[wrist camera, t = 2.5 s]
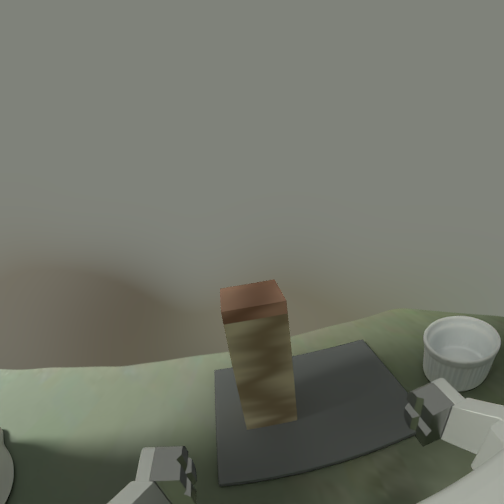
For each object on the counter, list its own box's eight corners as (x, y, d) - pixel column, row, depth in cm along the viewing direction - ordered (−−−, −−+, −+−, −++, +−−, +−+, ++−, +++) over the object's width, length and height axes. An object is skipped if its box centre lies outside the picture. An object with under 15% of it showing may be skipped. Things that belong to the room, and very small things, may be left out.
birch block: (247, 429, 24) (221, 311, 20) (242, 398, 28) (219, 288, 25) (297, 420, 24) (286, 300, 21) (287, 390, 28) (274, 279, 25)
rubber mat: (219, 486, 18) (218, 484, 18) (215, 372, 33) (214, 370, 33) (431, 426, 19) (433, 423, 19) (362, 342, 35) (362, 339, 35)
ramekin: (504, 381, 20) (516, 346, 19) (436, 406, 21) (446, 371, 20) (468, 341, 29) (474, 309, 28) (407, 356, 30) (411, 324, 29)
